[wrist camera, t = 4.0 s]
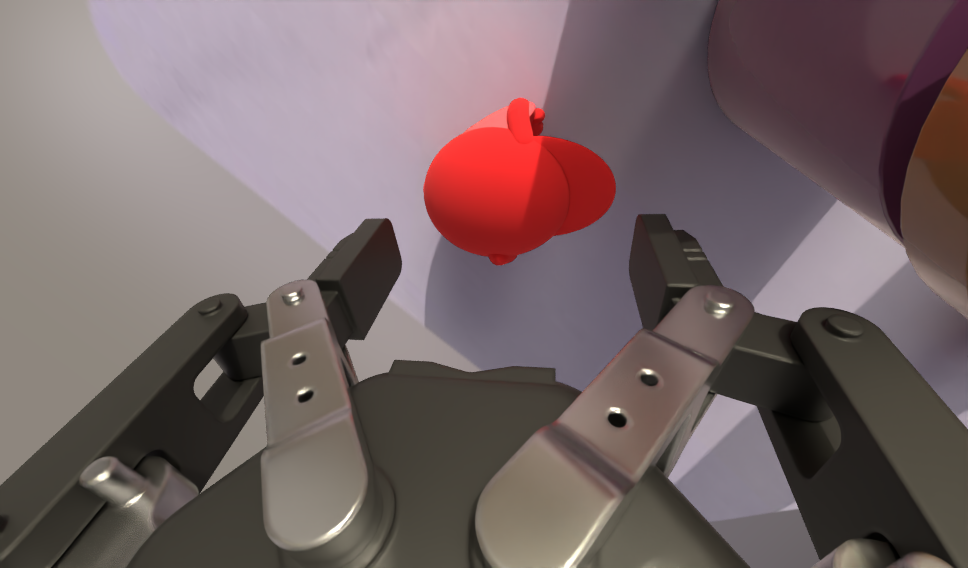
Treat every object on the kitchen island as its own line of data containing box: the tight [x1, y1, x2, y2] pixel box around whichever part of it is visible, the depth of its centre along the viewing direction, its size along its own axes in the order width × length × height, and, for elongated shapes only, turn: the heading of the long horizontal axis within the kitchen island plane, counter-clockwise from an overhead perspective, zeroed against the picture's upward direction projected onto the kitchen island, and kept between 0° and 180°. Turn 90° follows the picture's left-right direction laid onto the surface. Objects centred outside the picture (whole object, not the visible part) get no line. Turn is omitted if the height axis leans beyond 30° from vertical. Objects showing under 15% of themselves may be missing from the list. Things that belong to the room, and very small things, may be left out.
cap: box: [423, 98, 616, 265], centre depth 16 cm, size 8×6×6 cm
